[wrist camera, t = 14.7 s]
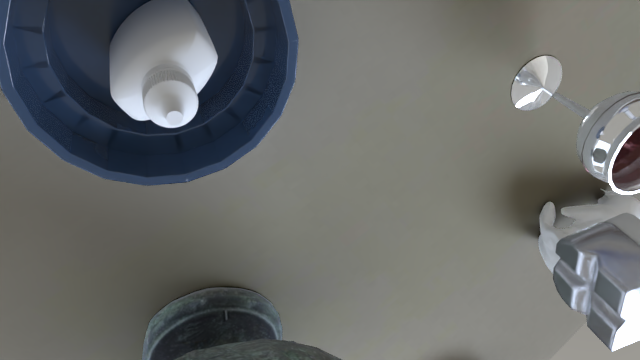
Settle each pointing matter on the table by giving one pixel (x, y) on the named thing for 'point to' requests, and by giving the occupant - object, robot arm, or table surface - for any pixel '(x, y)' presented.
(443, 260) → the table surface
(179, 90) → the eye dropper bottle
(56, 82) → the blue bowl
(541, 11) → the table surface
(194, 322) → the decorative bowl
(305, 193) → the table surface
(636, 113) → the wineglass
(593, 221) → the white lumpy figure
